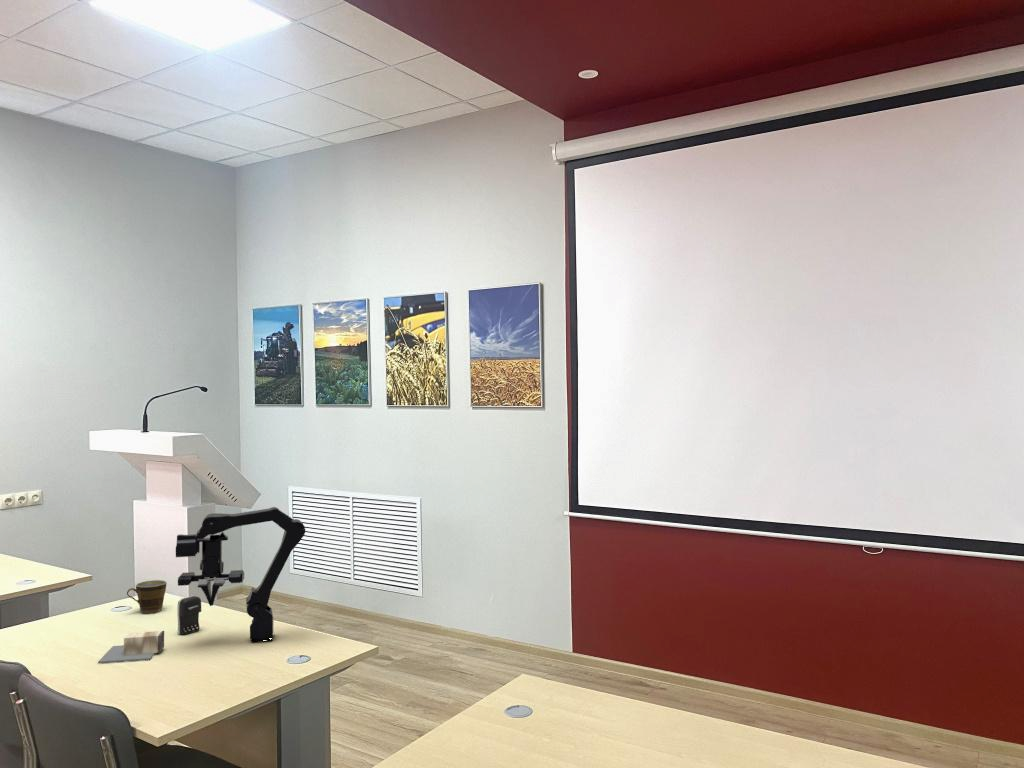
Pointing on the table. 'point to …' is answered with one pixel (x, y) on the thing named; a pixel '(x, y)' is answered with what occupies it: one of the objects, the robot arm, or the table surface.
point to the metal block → (143, 642)
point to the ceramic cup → (150, 595)
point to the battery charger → (188, 614)
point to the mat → (122, 655)
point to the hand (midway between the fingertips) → (211, 605)
